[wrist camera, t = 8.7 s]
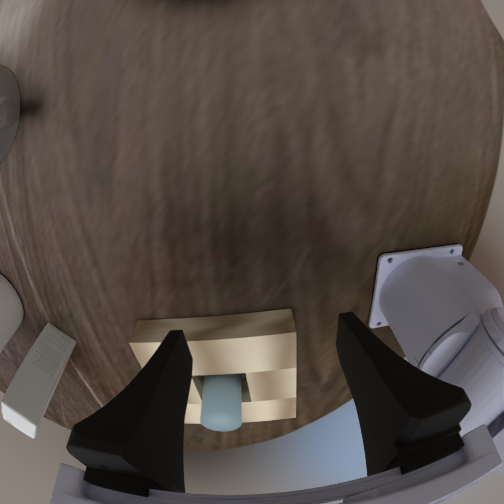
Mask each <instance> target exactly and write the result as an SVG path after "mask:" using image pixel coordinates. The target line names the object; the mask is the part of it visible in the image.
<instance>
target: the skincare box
mask: <svg viewBox="0 0 504 504" xmlns="http://www.w3.org/2000/svg"><path fill="white" fill-rule="evenodd" d="M75 345H76V341H75V340H74V339H72V338H71V337H69V336H68V335H66V334H65V333H63V332H62V331H60V330H59V329H58V328H56V327H55V326H54V325H52V324H51V323H49V322H48V323H47V324H46V326H45V327H44V329H43V330H42V332H41V333H40V335H39V336H38V338H37V339H36V341H35V343H34V344H33V346H32V347H31V349H30V351H29V352H28V354H27V355H26V357H25V359H24V360H23V362H22V364H21V366H20V367H19V369H18V371H17V372H16V374H15V376H14V378H13V380H12V381H11V383H10V385H9V387H8V389H7V391H6V393H5V395H4V397H3V399H2V401H1V406H2V409H1V410H2V413H3V418H4V419H5V420H6V421H7V422H9V423H10V424H12V425H13V426H14V427H16V428H17V429H19V430H20V431H22V432H23V433H25V434H26V435H28V436H30V437H31V438H33V439H34V438H35V436H36V433H37V431H38V428H39V426H40V423H41V421H42V418H43V416H44V414H45V412H46V409H47V407H48V405H49V402H50V400H51V398H52V396H53V393H54V391H55V389H56V387H57V385H58V382H59V380H60V378H61V376H62V374H63V372H64V370H65V367H66V366H67V363H68V360H69V358H70V355H71V353H72V351H73V349H74V347H75Z"/></svg>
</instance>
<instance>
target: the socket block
mask: <svg viewBox="0 0 504 504" xmlns="http://www.w3.org/2000/svg"><path fill="white" fill-rule="evenodd" d="M170 330H183V332H184V335H185V338H186V341H187V344H188V347H189V349H190V352H191V355H192V358H193V369H192V380H191V386H190V392H189V397H188V403H187V408H186V414H185V421H184V423H200V416H201V405H202V395H203V385H204V377H203V375H221V374H238V373H246V377H247V380H241V398H242V422H256V421H268V420H278V419H287V418H295V417H296V329H295V324H294V320H293V315H292V310H291V309H282V310H273V311H264V312H254V313H244V314H233V315H221V316H208V317H194V318H178V319H159V320H138V321H137V324H136V326H135V329H134V331H133V334H132V336H131V339H130V341H129V344H130V346H131V348H132V350H133V352H134V354H135V356H136V358H137V360H138V361H139V363H140V365H141V367H142V368H143V367H144V366H145V365H146V363H147V362H148V361H149V359H150V358H151V357H152V355H153V354H154V353H155V351H156V350H157V348H158V347H159V345H160V344H161V343H162V341H163V340H164V338H165V337H166V335H167V334H168V332H169V331H170Z"/></svg>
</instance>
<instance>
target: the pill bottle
mask: <svg viewBox="0 0 504 504" xmlns="http://www.w3.org/2000/svg"><path fill="white" fill-rule="evenodd" d="M23 315H24V311H23V306H22V303H21V300H20V298H19V296H18V294H17V292H16V291H15V289H14V288H13V286H12V285H11V284H10V283H9V281H8V280H7V279H6V278H5V277H4V276H3V275H1V274H0V352H1V351H2V350H3V348H4V347H5V345H6V344H7V342H8V341H9V339H10V338H11V337H12V335H13V334H14V332H15V331H16V330H17V328H18V327H19V326H20V324H21V322H22V320H23Z"/></svg>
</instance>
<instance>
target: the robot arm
mask: <svg viewBox="0 0 504 504" xmlns="http://www.w3.org/2000/svg"><path fill="white" fill-rule="evenodd" d="M451 249H452V250H451ZM462 249H463V248H462V246H461V245H460V244H455V245H448V246H440V247H433V248H426V249H418V250H411V251H403V252H395V253H387V254H382V255H381V256H380V257H379V259H378V266H377V274H376V281H375V288H374V294H373V301H372V306H371V312H370V318H369V323H368V324H369V327H370V328H377V327H382V326H387V325H389V326H390V328H391V330H392V331H393V333H394V335H395V337H396V339H397V340H398V342H399V344H400V346H401V348H402V350H403V352H404V353H405V355H406V357H407V359H408V361H409V362H407V361H406V360H405V359H403V358H402V357H400V356H399V355H398V354H396V353H395V352H394V351H393V350H391V349H390V348H389V347H388V346H387V345H386V344H384V343H383V342H382V341H381V340H380V339H379V338H378V337H377V336H376V335H375V334H374V333H373V332H371V331H370V330H369V329H368V328H367V327H366V326H365V325H364V323H363V322H362V321H361V320H360V319H359V318H358V317H357V316H356V315H355V314H354V313H353V312H347V313H340V314H339V321H338V330H337V339H336V347H337V352H338V356H339V360H340V364H341V367H342V369H343V372H344V375H345V377H346V380H347V383H348V385H349V388H350V391H351V394H352V396H353V399H354V402H355V405H356V409H357V413H358V418H359V423H360V428H361V433H362V438H363V444H364V450H365V458H366V467H367V477H364V478H360V479H356V480H352V481H348V482H343V483H339V484H334V485H329V486H323V487H318V488H312V489H305V490H298V491H290V492H281V493H270V494H252V495H206V494H205V495H204V494H189V493H185V485H184V470H183V469H184V468H183V438H184V421H185V414H186V408H187V403H188V397H189V392H190V386H191V380H192V369H193V358H192V355H191V352H190V349H189V347H188V344H187V341H186V338H185V335H184V332H183V330H170V331H169V332H168V334H167V335H166V337H165V338H164V340H163V341H162V343H161V344H160V345H159V347H158V348H157V350H156V351H155V353H154V354H153V355H152V357H151V358H150V359H149V361H148V362H147V363H146V365H145V366H144V367H143V368H142V370H141V371H140V372H139V373H138V374H137V376H136V377H135V378H134V379H133V380H132V381H131V382H130V383H129V384H128V386H127V387H126V388H125V389H124V390H123V391H121V392H120V393H119V394H118V395H117V396H116V397H115V398H113V399H112V400H111V401H110V402H109V403H108V404H106V405H105V406H104V407H102V408H101V409H99V410H98V411H97V412H95V413H94V414H92V415H91V416H89V417H87V418H85V419H84V420H82V421H80V422H78V423H77V424H75V425H74V426H73V429H72V431H71V434H70V437H69V441H68V443H67V447H66V448H67V450H68V452H69V453H70V454H71V455H73V456H74V457H75V458H76V459H78V460H79V461H80V462H81V463H83V464H84V465H85V466H87V467H86V471H83V470H81V469H79V468H75V467H72V466H69V465H66V464H63V463H61V464H60V467H59V471H58V475H57V478H56V482H55V485H54V489H53V493H52V497H51V501H50V504H320V503H326V502H331V501H336V500H341V499H344V500H343V503H340V504H438V503H440V502H442V501H444V500H446V499H448V498H450V497H451V496H453V495H455V494H457V493H459V492H461V491H463V490H464V489H466V488H468V487H470V486H471V485H473V484H475V483H476V482H478V481H479V480H481V479H482V478H484V477H485V476H487V475H488V474H489V473H491V472H492V471H493V470H495V469H499V470H500V472H501V473H502V474H503V475H504V308H503V304H502V301H501V298H500V295H499V293H498V291H497V290H496V288H495V287H494V286H493V285H492V284H491V283H490V282H489V281H488V280H487V279H486V278H485V277H484V276H483V275H482V274H481V273H480V272H479V271H478V270H477V269H476V268H475V267H473V266H472V265H471V264H470V263H469V262H468V261H467V260H466V259H465V258H464V257H462V256H461V254H462ZM389 258H391V259H390V260H389V261H388V259H389ZM378 322H379V323H378Z"/></svg>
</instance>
